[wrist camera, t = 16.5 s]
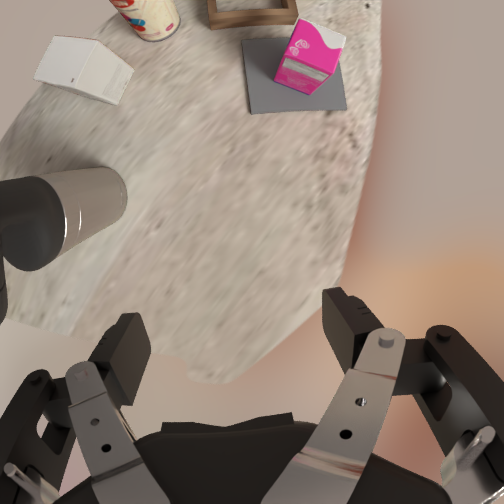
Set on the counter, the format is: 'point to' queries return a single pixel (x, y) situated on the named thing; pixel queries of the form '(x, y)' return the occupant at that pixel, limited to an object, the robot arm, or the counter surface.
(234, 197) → the counter surface
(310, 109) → the slate mat
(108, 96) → the small box
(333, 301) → the robot arm
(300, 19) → the supplement box
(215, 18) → the tray
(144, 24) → the aerosol can
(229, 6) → the counter surface
